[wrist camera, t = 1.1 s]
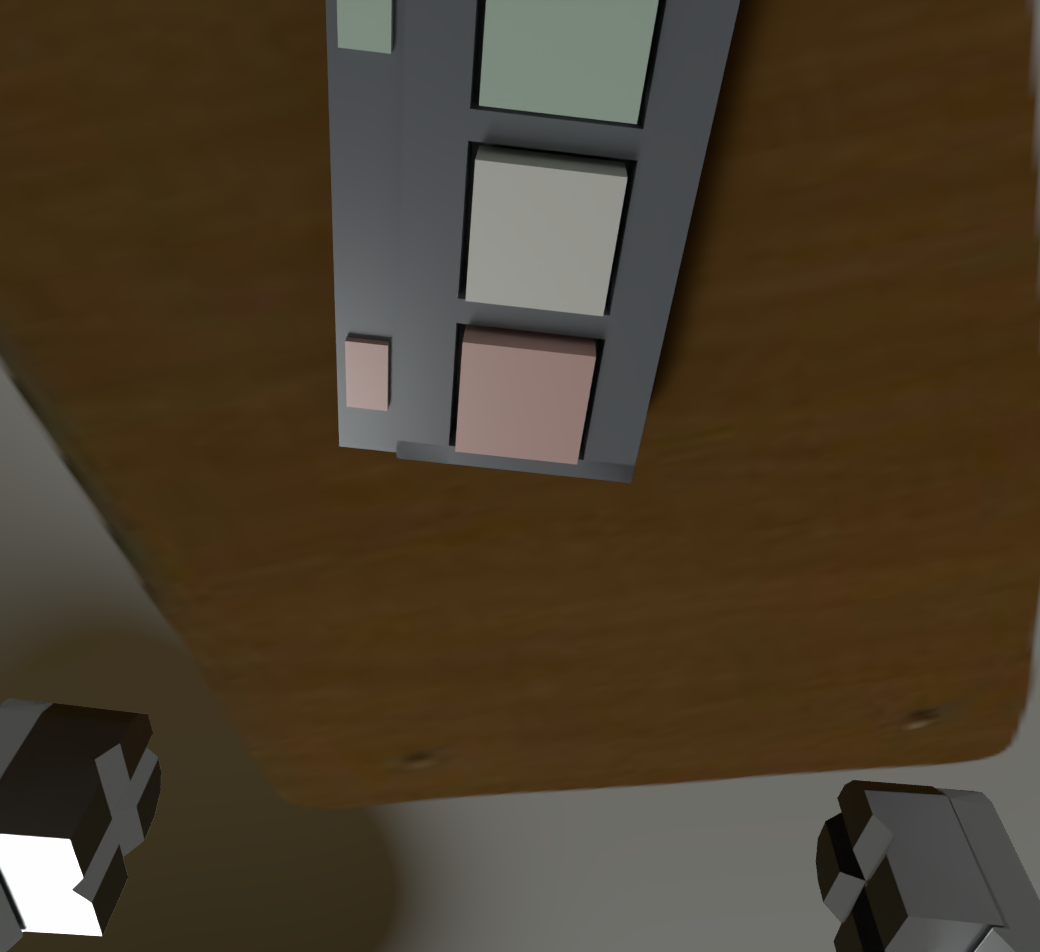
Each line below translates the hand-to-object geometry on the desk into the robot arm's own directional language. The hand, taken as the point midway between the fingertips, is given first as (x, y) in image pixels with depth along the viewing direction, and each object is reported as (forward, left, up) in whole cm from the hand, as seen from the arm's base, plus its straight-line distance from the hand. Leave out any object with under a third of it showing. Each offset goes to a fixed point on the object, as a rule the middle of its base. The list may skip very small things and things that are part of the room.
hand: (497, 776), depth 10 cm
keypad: (+4, -1, -34) cm, 34 cm away
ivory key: (+4, 0, -30) cm, 30 cm away
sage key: (-4, +1, -30) cm, 30 cm away
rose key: (+12, +1, -30) cm, 32 cm away
